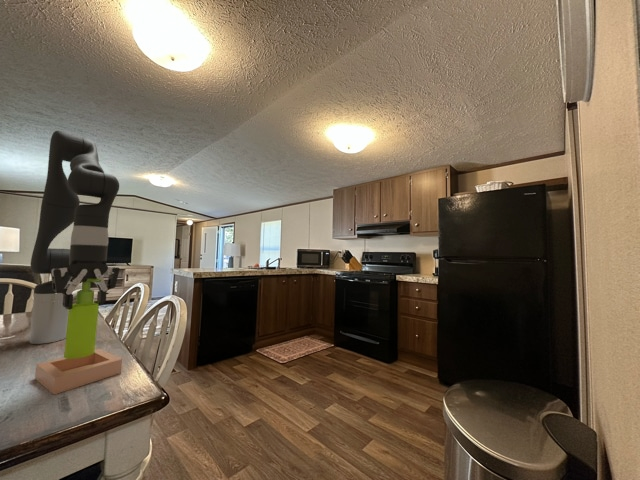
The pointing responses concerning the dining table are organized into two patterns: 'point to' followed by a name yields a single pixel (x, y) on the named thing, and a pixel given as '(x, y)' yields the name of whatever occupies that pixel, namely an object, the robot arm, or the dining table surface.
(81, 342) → the green pump bottle
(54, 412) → the dining table surface
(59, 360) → the tray
